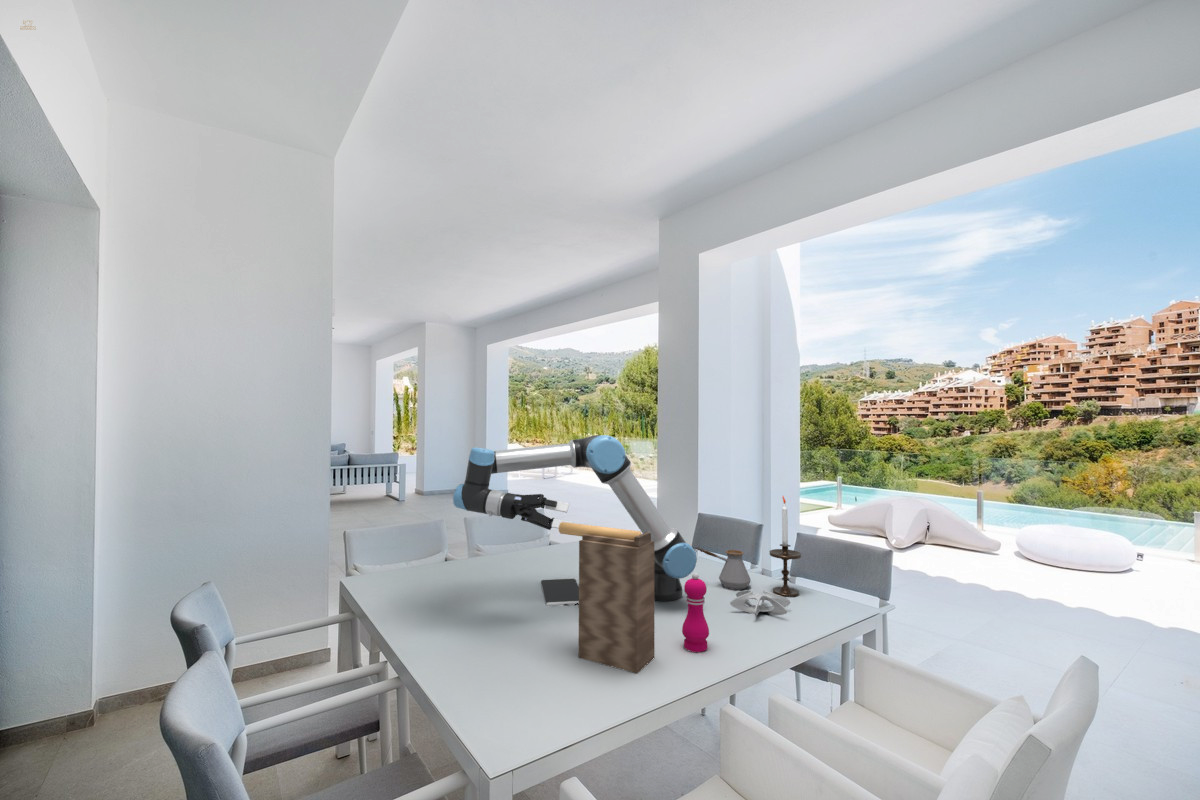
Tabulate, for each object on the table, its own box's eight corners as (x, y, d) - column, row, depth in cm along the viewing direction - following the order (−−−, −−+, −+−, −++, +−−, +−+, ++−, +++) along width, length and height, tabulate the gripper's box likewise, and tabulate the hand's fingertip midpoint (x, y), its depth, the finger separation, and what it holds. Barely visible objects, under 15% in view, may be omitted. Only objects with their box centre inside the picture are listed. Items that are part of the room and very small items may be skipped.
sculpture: (726, 618, 166) (726, 597, 166) (738, 599, 184) (738, 581, 184) (785, 627, 158) (785, 606, 159) (792, 607, 176) (792, 588, 177)
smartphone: (545, 608, 175) (546, 603, 175) (540, 583, 202) (540, 579, 202) (585, 606, 178) (585, 601, 178) (575, 582, 204) (575, 577, 204)
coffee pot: (743, 581, 205) (742, 542, 205) (756, 590, 193) (755, 549, 194) (689, 583, 201) (689, 543, 202) (699, 593, 190) (699, 551, 191)
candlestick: (763, 590, 193) (762, 494, 195) (786, 587, 198) (785, 492, 199) (784, 599, 184) (783, 498, 185) (808, 595, 188) (807, 496, 189)
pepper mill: (703, 655, 139) (703, 578, 140) (677, 649, 142) (677, 574, 143) (713, 645, 145) (712, 571, 146) (688, 640, 149) (688, 568, 149)
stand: (578, 657, 137) (579, 531, 139) (598, 643, 146) (598, 525, 147) (636, 673, 128) (637, 538, 130) (654, 658, 137) (654, 531, 138)
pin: (558, 534, 146) (558, 523, 146) (565, 532, 149) (565, 521, 149) (636, 545, 134) (636, 532, 134) (641, 542, 136) (641, 530, 137)
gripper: (507, 532, 169) (571, 545, 165) (490, 497, 149) (562, 511, 145) (515, 510, 173) (577, 522, 169) (499, 474, 153) (569, 487, 149)
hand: (570, 517), depth 157 cm, fingers open, 13 cm apart
